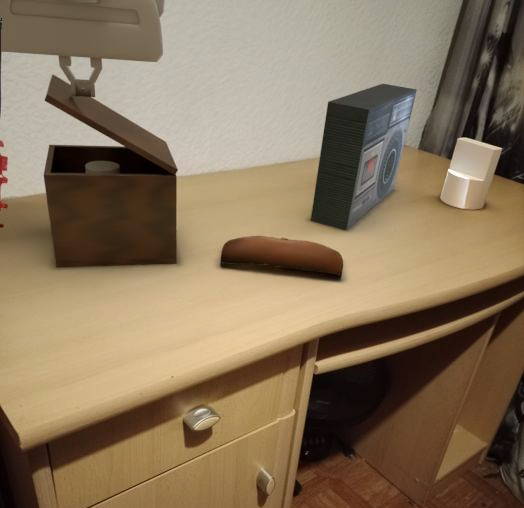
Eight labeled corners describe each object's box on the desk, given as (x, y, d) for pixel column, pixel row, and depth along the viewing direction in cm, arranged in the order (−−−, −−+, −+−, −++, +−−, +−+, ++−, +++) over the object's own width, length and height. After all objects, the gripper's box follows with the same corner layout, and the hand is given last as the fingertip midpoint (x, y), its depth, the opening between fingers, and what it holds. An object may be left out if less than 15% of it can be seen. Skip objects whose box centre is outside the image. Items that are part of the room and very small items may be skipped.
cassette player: (346, 230, 96) (369, 109, 84) (310, 220, 98) (328, 101, 87) (393, 189, 118) (416, 89, 106) (363, 182, 120) (382, 83, 109)
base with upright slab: (431, 197, 115) (447, 139, 109) (456, 192, 120) (473, 136, 114) (467, 212, 110) (486, 151, 103) (491, 205, 115) (511, 147, 108)
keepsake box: (56, 267, 75) (43, 174, 68) (59, 228, 86) (49, 144, 78) (176, 263, 79) (176, 176, 72) (165, 226, 90) (165, 147, 83)
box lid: (44, 100, 63) (47, 94, 63) (50, 79, 74) (52, 74, 73) (175, 175, 72) (178, 169, 72) (163, 146, 82) (166, 141, 82)
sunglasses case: (338, 253, 86) (346, 227, 80) (337, 292, 83) (345, 268, 77) (226, 241, 86) (225, 214, 80) (220, 279, 83) (219, 254, 77)
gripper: (161, -26, 67) (162, 95, 75) (-20, -46, 62) (1, 86, 70) (167, -24, 62) (167, 105, 70) (-29, -46, 57) (-5, 96, 65)
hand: (83, 96), depth 70 cm, fingers closed
